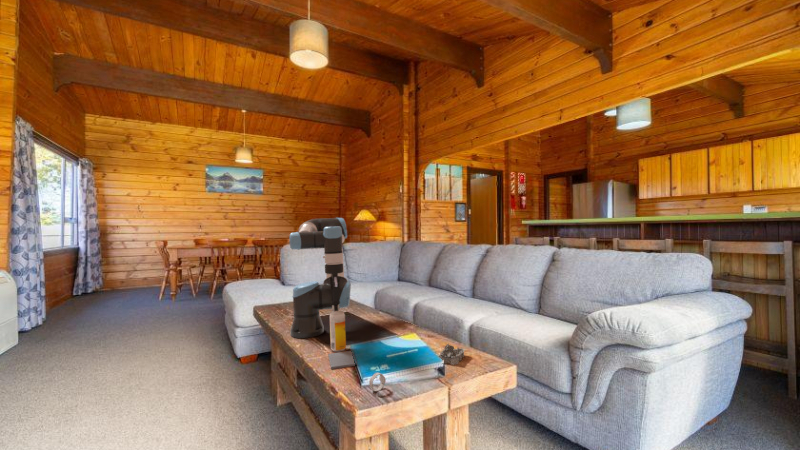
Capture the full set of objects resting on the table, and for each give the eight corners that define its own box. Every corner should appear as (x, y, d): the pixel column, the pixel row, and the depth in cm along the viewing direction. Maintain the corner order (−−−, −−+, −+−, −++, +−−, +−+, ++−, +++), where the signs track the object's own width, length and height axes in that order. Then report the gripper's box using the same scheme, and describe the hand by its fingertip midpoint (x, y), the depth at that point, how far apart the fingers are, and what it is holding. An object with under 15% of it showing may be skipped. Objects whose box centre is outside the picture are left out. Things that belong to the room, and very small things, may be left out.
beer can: (349, 348, 145) (347, 311, 145) (339, 353, 140) (337, 315, 140) (337, 346, 148) (336, 309, 148) (327, 350, 143) (326, 313, 143)
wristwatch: (386, 388, 109) (385, 372, 109) (373, 394, 106) (373, 378, 106) (380, 385, 111) (379, 369, 111) (367, 391, 108) (367, 375, 108)
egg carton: (448, 353, 137) (448, 342, 137) (467, 356, 133) (466, 345, 133) (436, 363, 128) (436, 351, 128) (456, 366, 124) (456, 355, 124)
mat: (328, 355, 138) (328, 353, 138) (351, 352, 140) (351, 350, 140) (331, 369, 125) (331, 367, 125) (356, 365, 128) (356, 363, 128)
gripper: (323, 262, 154) (325, 317, 154) (325, 265, 142) (328, 325, 142) (341, 261, 156) (343, 315, 156) (344, 264, 144) (347, 323, 144)
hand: (336, 319), depth 149 cm, fingers closed
